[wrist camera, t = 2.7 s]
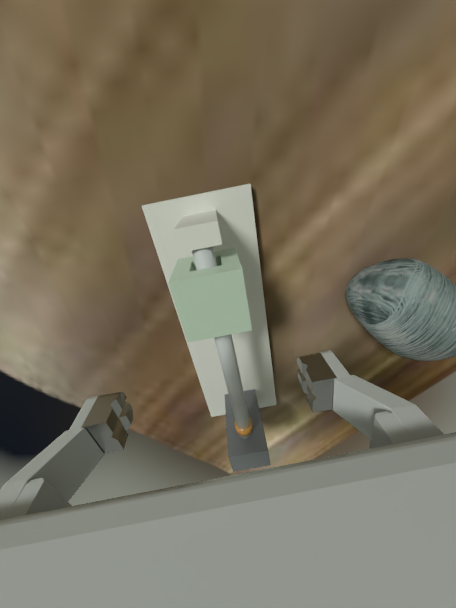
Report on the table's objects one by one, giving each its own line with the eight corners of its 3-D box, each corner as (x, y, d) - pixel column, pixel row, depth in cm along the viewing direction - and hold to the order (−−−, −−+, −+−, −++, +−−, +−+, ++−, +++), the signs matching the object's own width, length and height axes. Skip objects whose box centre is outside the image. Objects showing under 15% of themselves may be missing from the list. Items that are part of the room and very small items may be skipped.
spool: (318, 313, 25) (436, 345, 17) (356, 237, 26) (485, 233, 18) (366, 353, 33) (463, 388, 24) (394, 293, 33) (497, 309, 25)
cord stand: (248, 183, 22) (273, 185, 13) (274, 399, 36) (294, 466, 27) (144, 204, 22) (103, 219, 14) (211, 410, 36) (211, 480, 28)
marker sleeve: (234, 247, 20) (242, 268, 15) (243, 298, 22) (251, 330, 18) (178, 258, 20) (168, 283, 15) (192, 308, 23) (187, 342, 18)
